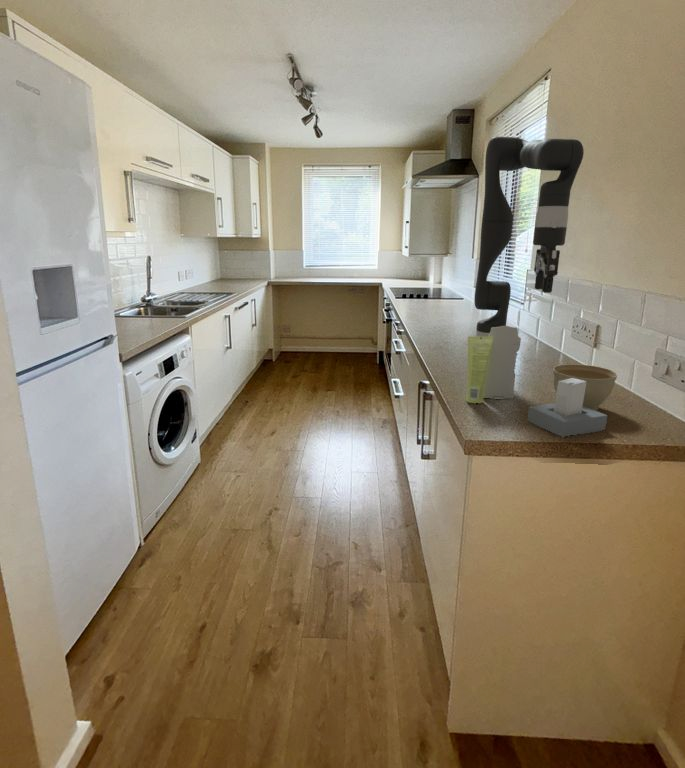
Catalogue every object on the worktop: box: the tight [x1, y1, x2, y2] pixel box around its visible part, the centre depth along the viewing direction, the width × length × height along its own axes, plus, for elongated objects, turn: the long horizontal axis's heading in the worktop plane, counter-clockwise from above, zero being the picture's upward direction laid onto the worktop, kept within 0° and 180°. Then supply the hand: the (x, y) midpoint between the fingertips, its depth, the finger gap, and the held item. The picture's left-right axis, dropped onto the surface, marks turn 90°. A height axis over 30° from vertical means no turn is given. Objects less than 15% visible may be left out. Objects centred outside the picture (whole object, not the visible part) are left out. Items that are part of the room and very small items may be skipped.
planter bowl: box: [552, 363, 618, 411], centre depth 139 cm, size 16×16×11 cm
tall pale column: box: [483, 325, 522, 400], centre depth 145 cm, size 11×4×22 cm, turn 93°
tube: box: [465, 335, 493, 405], centre depth 142 cm, size 6×5×20 cm
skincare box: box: [554, 378, 586, 417], centre depth 124 cm, size 6×4×12 cm
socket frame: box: [527, 402, 608, 438], centre depth 126 cm, size 12×14×4 cm
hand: (542, 290), depth 128 cm, fingers open, 8 cm apart
